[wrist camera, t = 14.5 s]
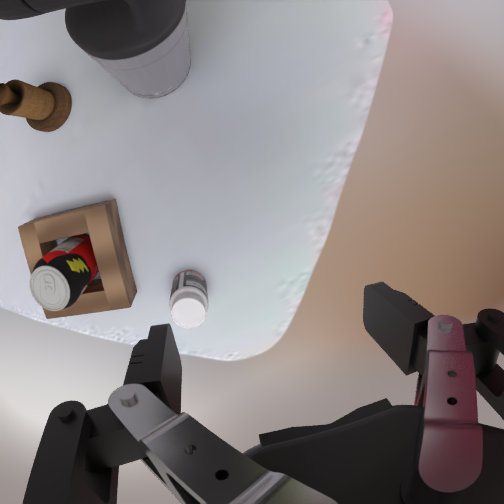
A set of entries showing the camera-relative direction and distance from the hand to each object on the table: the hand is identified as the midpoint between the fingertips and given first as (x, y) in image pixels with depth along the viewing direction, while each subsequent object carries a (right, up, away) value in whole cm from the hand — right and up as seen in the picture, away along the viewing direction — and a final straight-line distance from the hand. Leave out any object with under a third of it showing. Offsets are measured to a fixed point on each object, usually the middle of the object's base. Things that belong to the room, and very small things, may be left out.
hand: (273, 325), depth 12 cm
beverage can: (-24, +3, +27) cm, 36 cm away
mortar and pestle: (-28, +22, +21) cm, 41 cm away
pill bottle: (-9, -2, +31) cm, 32 cm away
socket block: (-24, +2, +27) cm, 36 cm away
